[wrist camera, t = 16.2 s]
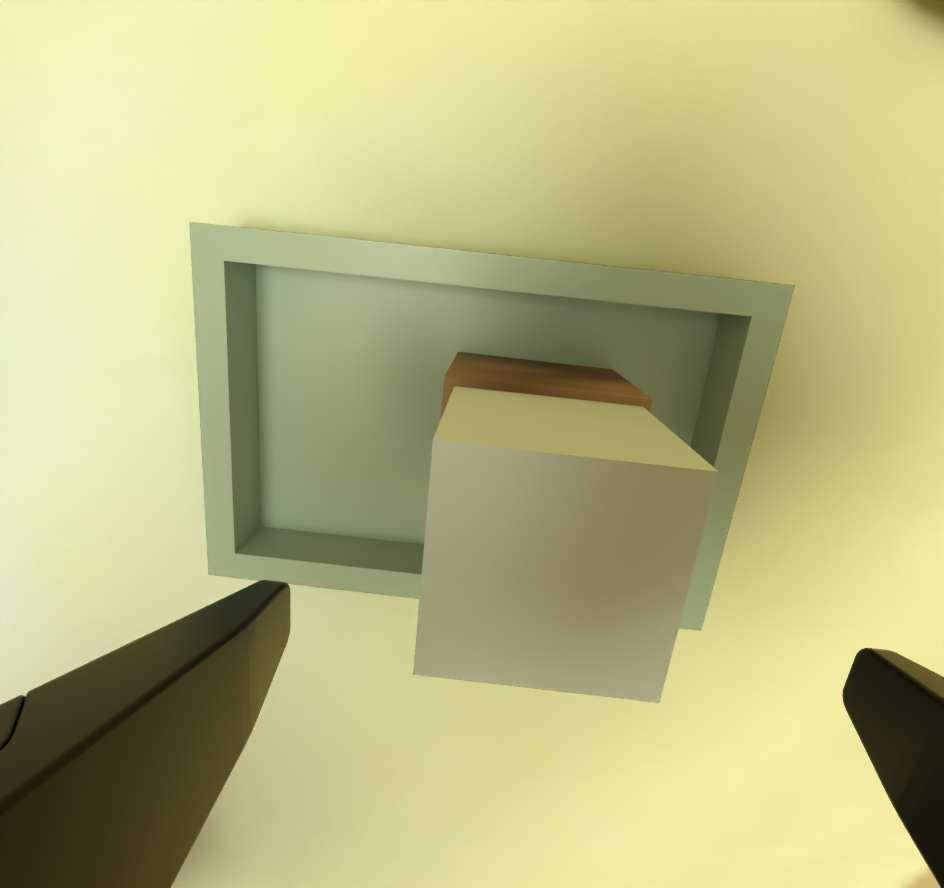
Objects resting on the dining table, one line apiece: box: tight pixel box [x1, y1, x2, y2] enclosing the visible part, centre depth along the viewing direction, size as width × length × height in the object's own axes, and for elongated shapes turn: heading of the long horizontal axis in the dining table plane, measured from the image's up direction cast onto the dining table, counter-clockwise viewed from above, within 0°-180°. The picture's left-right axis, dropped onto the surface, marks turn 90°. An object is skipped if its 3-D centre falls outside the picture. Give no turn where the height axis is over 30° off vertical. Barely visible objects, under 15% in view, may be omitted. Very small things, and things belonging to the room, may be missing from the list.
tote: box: [189, 222, 795, 631], centre depth 19 cm, size 12×18×3 cm, turn 84°
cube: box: [413, 386, 718, 703], centre depth 12 cm, size 5×5×5 cm
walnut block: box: [441, 352, 652, 418], centre depth 17 cm, size 6×6×5 cm
